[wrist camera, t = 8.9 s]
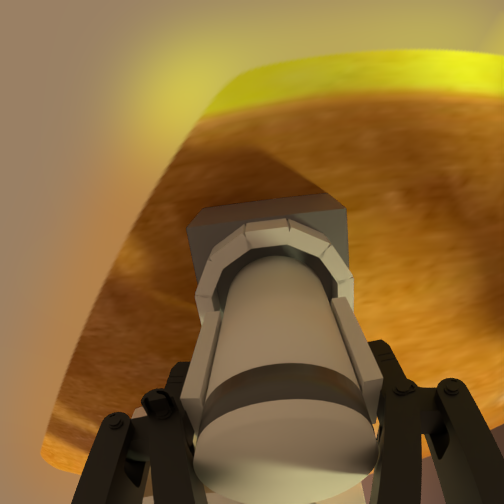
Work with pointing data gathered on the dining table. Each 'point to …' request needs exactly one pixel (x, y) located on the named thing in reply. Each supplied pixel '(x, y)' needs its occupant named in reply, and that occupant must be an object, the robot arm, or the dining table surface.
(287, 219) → the grey socket block
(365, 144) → the dining table surface
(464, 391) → the robot arm
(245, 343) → the beige rounded cylinder
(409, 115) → the dining table surface
